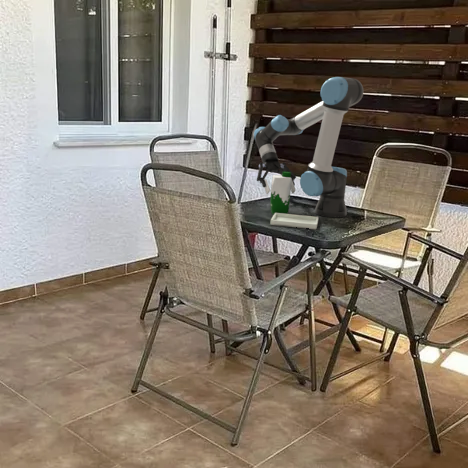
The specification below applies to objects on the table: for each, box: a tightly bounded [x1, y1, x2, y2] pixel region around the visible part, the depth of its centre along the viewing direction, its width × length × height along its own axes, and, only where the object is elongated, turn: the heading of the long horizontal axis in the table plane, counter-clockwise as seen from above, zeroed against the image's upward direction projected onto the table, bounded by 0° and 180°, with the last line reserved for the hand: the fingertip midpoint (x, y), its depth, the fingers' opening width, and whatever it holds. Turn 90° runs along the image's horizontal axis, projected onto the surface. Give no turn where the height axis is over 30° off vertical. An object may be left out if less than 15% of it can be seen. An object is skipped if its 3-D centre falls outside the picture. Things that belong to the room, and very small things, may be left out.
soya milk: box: [269, 172, 292, 216], centre depth 288 cm, size 9×9×20 cm
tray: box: [269, 213, 319, 230], centre depth 272 cm, size 20×16×2 cm
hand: (281, 192), depth 287 cm, fingers open, 13 cm apart
